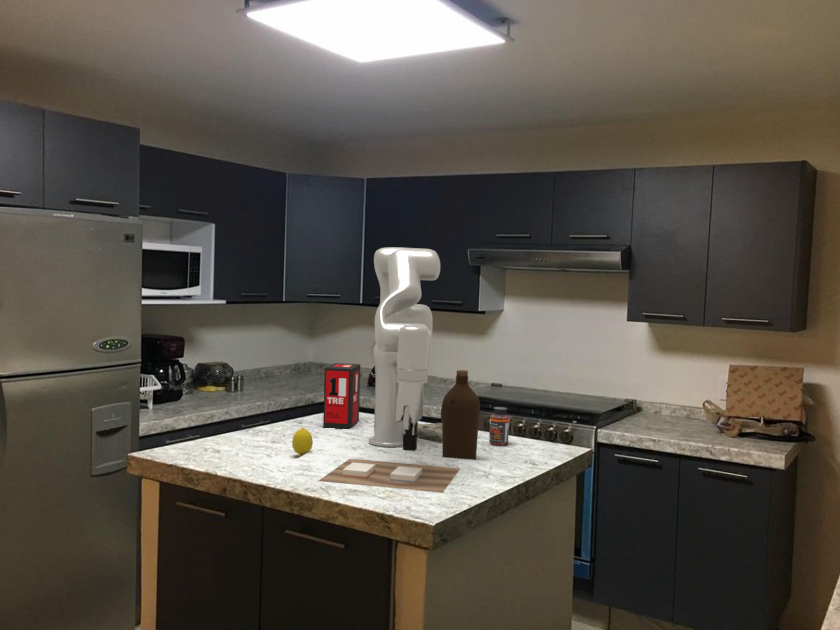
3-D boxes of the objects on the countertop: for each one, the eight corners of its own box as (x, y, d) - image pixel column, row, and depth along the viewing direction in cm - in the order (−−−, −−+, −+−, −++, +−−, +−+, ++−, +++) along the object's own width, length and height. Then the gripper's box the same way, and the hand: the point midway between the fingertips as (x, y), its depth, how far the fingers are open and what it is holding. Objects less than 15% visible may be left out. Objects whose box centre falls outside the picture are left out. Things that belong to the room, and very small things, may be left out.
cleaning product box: (349, 429, 252) (351, 369, 252) (323, 428, 253) (324, 368, 252) (358, 421, 269) (360, 364, 268) (333, 419, 270) (335, 363, 269)
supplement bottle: (486, 444, 236) (487, 408, 235) (492, 441, 241) (493, 405, 241) (505, 447, 233) (506, 410, 233) (510, 443, 239) (511, 407, 238)
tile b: (398, 466, 192) (390, 473, 184) (422, 468, 190) (414, 476, 183) (398, 472, 192) (390, 480, 184) (421, 474, 190) (414, 482, 183)
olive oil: (479, 464, 209) (482, 373, 208) (440, 463, 209) (443, 372, 208) (476, 456, 220) (480, 369, 219) (439, 454, 220) (442, 367, 219)
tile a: (352, 462, 194) (342, 469, 186) (375, 464, 193) (366, 471, 185) (352, 468, 194) (342, 476, 187) (375, 470, 193) (366, 478, 185)
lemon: (308, 459, 209) (308, 430, 209) (288, 458, 210) (289, 428, 210) (315, 455, 214) (315, 426, 214) (296, 453, 215) (296, 425, 215)
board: (349, 464, 205) (349, 458, 205) (460, 474, 198) (460, 468, 198) (318, 487, 182) (318, 480, 182) (442, 498, 175) (442, 492, 175)
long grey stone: (397, 429, 264) (375, 434, 257) (396, 414, 264) (374, 418, 257) (473, 441, 239) (451, 447, 232) (472, 424, 239) (450, 429, 232)
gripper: (404, 371, 197) (402, 443, 198) (389, 378, 182) (387, 455, 183) (433, 373, 195) (430, 445, 196) (420, 380, 181) (417, 457, 181)
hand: (409, 449), depth 189 cm, fingers closed
